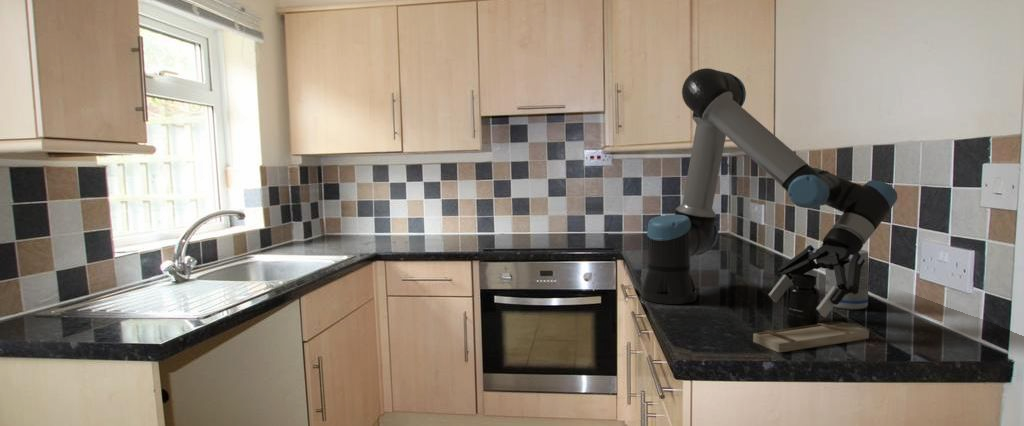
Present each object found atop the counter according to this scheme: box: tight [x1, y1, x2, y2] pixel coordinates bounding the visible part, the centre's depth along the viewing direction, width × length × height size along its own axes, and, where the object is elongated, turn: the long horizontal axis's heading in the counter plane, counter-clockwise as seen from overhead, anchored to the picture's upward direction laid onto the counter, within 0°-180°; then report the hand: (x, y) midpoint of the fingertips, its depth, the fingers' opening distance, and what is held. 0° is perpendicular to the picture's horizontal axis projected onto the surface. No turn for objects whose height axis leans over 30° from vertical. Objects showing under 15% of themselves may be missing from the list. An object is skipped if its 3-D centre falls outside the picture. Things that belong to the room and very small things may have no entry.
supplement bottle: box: [785, 273, 821, 328], centre depth 120 cm, size 7×7×12 cm
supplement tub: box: [824, 249, 870, 310], centre depth 137 cm, size 10×10×15 cm
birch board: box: [752, 320, 870, 353], centre depth 111 cm, size 7×24×2 cm, turn 107°
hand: (795, 305), depth 119 cm, fingers open, 13 cm apart
